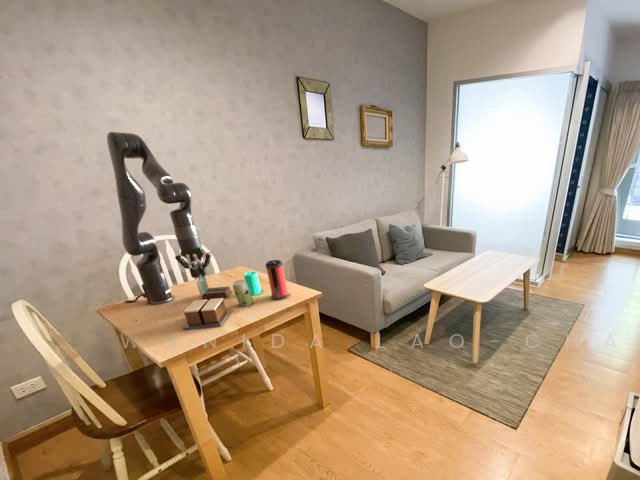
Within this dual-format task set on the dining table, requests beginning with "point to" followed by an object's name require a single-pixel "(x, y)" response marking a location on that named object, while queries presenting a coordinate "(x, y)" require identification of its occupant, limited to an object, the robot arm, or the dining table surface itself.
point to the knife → (202, 280)
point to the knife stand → (217, 293)
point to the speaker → (277, 279)
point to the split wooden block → (206, 313)
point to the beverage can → (242, 292)
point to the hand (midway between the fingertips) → (200, 276)
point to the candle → (252, 282)
